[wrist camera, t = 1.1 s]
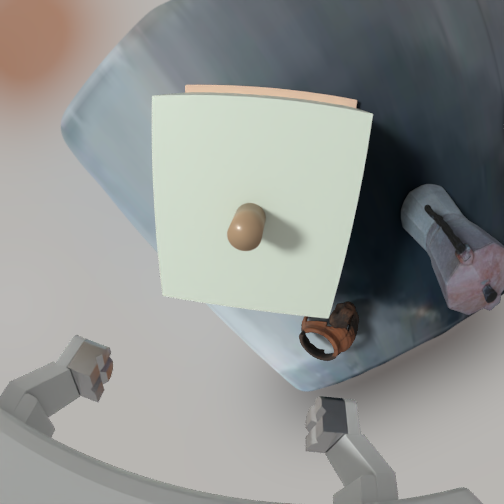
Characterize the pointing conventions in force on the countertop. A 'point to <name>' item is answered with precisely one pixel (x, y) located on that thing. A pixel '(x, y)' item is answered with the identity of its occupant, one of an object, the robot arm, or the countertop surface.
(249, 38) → the countertop surface
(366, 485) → the robot arm
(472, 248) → the moka pot
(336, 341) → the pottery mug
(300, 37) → the countertop surface
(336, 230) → the sage cover
